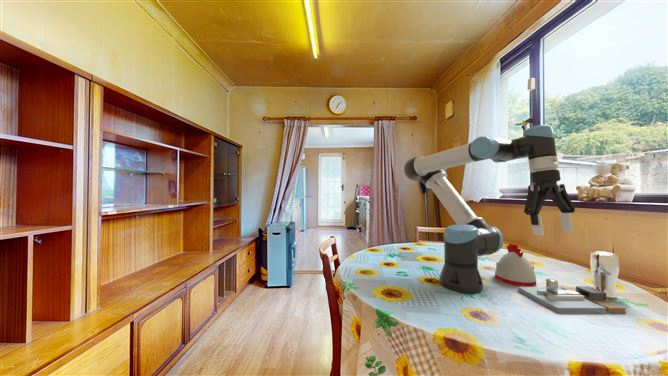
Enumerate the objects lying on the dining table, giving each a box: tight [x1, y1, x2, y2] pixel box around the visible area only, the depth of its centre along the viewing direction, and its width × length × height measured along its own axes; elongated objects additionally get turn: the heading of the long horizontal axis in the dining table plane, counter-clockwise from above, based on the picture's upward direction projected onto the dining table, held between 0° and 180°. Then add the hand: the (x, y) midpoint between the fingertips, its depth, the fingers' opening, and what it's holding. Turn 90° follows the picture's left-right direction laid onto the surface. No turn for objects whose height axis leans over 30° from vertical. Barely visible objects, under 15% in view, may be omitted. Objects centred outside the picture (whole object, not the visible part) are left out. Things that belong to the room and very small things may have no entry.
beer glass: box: [589, 250, 620, 299], centre depth 88 cm, size 7×7×15 cm
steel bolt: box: [544, 278, 580, 295], centre depth 83 cm, size 10×3×5 cm, turn 90°
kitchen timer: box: [494, 243, 537, 287], centre depth 102 cm, size 14×14×15 cm
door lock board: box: [517, 285, 626, 314], centre depth 83 cm, size 21×16×4 cm
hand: (553, 233), depth 81 cm, fingers open, 13 cm apart
